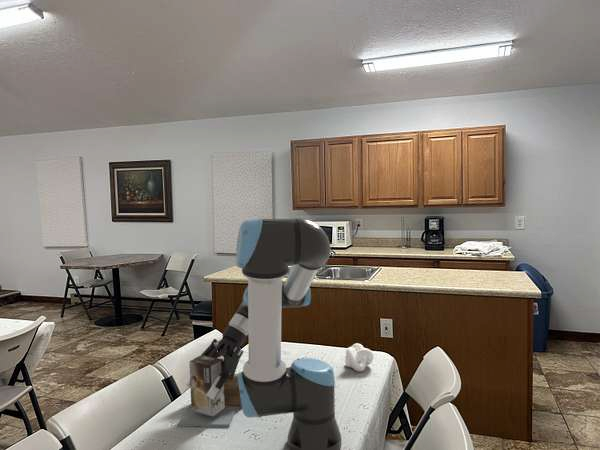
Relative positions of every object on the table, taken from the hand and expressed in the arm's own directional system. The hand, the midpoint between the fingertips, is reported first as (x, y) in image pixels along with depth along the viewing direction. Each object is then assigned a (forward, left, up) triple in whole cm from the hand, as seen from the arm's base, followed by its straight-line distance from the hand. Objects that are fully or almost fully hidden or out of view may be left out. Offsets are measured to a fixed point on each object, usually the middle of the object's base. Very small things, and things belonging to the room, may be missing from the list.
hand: (199, 392), depth 130 cm
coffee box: (+2, -2, -7) cm, 7 cm away
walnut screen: (+11, -4, -9) cm, 15 cm away
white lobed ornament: (+41, -53, -9) cm, 68 cm away
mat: (+2, -2, -9) cm, 10 cm away
